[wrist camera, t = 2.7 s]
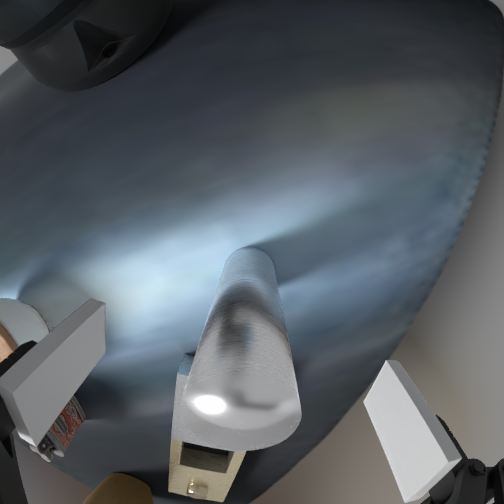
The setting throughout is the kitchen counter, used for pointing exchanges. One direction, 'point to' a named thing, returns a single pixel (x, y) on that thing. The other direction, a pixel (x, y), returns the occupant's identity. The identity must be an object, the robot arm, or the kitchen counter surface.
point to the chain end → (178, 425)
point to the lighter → (61, 431)
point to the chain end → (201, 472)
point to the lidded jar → (19, 326)
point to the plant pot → (120, 491)
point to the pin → (243, 362)
